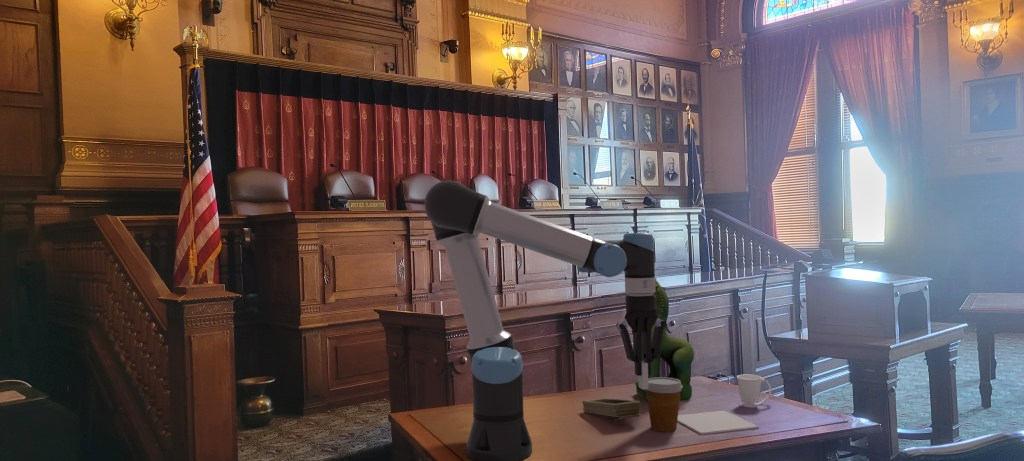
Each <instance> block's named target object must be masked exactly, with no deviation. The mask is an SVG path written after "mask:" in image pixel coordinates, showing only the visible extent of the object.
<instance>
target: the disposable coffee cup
mask: <svg viewBox="0 0 1024 461" xmlns="http://www.w3.org/2000/svg"><path fill="white" fill-rule="evenodd" d="M648 388H649V389H646V392H647V400H648V401H647V400H646V401H647V405H648V406H647V407H648V413H649V422H650V428H651V429H652V430H654V431H657V432H674V431H676V430H677V425H678V422H677V419H678V415H679V409H680V393H681V390H682V388H683V386H682V385H681V381H680V380H678V379H674V378H666V376H665V377H662V376H660V377H655V378H649V379H648Z"/></svg>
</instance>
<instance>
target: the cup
mask: <svg viewBox="0 0 1024 461" xmlns="http://www.w3.org/2000/svg"><path fill="white" fill-rule="evenodd" d="M736 380H737V385H738V390H739V391H738V392H739V393H738V394H739V396H740V399H741V402H742V403H741V406H742V407H746V408H757V407H758V406H760V405H762V404H763V403H765V402H766V401H767V400H768V399H769V398H770V397H771V395H772V391H773V390H772V387H771V386H772V385H771V382H769V381H768V379H765V378H762V376H761V375H757V374H747V373H746V374H744V373H743V374H739V375H736ZM763 382H766V383H767V384H768V385H767V386H768V389H769V391H768V394H767V395H766V396H765V397H764V398H763V399H762V400H761V401H759V399H760V393H761V387H762V383H763Z"/></svg>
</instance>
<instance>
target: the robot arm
mask: <svg viewBox="0 0 1024 461" xmlns="http://www.w3.org/2000/svg"><path fill="white" fill-rule="evenodd" d="M424 210H425V211H424V212H425V214H426V217H427V218H428V220H429V221H430V222H431V226H432V230H433V233H434V236H435V239H436V242H437V243H438V244H440V245H442V246H443V247H444V249H445V253H446V257H447V260H448V264H449V267H450V270H451V271H450V272H451V274H452V278H453V281H454V286H455V289H456V292H457V296H458V300H459V304H460V306H461V310H462V314H463V317H464V320H465V325H466V328H467V331H468V335H469V341H468V343H467V345H466V351H467V355H468V358H469V362H470V370H471V380H472V381H471V382H472V384H471V385H472V414H473V416H472V417H473V419H472V420H473V421H472V423H471V428H470V431H469V435H468V438H467V441H466V456H467V457H468V458H469V459H471V460H473V461H521V460H524V459H527V458H528V457H530V456H531V455H532V453H533V441H532V439H531V435H530V432H529V430H528V427H527V424H526V422H525V417H524V385H523V384H524V383H523V382H524V380H523V371H524V370H523V369H524V362H523V359H522V357H523V356H522V355H521V353H520V352H519V351H518V350H516V347H515V343H514V340H513V338H512V334H511V333H510V332H508V331H506V330H505V329H504V327H503V323H502V319H501V315H500V312H499V310H498V306H497V302H496V298H495V295H494V294H495V293H494V290H493V288H492V287H493V286H492V284H491V281H490V280H491V279H490V276H489V274H488V273H489V272H488V270H487V266H486V262H485V259H484V255H483V252H482V247H481V244H480V241H479V235H480V234H482V235H485V236H489V237H492V238H494V239H497V240H500V241H504V242H505V243H510V244H512V245H515V246H518V247H521V248H524V249H526V250H530V251H533V252H536V253H539V254H541V255H544V256H546V257H550V258H553V259H555V260H558V261H563V262H565V263H568V264H571V265H574V266H576V269H577V271H578V272H579V273H588V274H591V273H596V274H599V275H600V276H603V277H606V278H612V277H616V276H619V275H620V274H621V273H623V272H624V293H625V294H627V295H626V296H625V298H624V299H625V315H624V319H623V320H622V321H621V322H617V323H616V324H615V326H616V327H617V329H618V331H619V332H620V338H621V340H622V344H623V346H624V351H625V355H626V359H627V360H629V361H631V362H634V373H635V376H637V377H638V378H637V379H638V380H637V381H638V383H639V388H641V389H643V390H644V389H649V388H648V375H651V363H652V362H653V360H654V359H657V358H658V355H659V349H660V344H661V339H662V333H663V329H664V328H665V326H666V327H667V322H666V321H663V320H661V319H659V318H658V315H657V313H656V296H655V295H653V293H655V292H656V291H655V280H656V274H655V273H656V271H655V269H656V267H655V252H656V250H655V244H654V237H653V236H654V235H653V234H652V233H650V232H630V233H629V232H627V233H624V234H623V236H622V238H623V239H622V240H620V241H605V240H601V239H599V238H596V237H592V236H590V235H588V234H584V233H582V232H579V231H576V230H573V229H570V228H568V227H564V226H562V225H558V224H556V223H553V222H550V221H547V220H544V219H541V218H539V217H536V216H533V215H529V214H526V213H524V212H522V211H519V210H515V209H513V208H509V207H507V206H505V205H502V204H498V203H497V202H496V203H495V202H492V201H491V200H490V198H489V196H488V195H485V194H482V193H480V192H477V191H475V190H474V189H471V188H469V187H467V186H466V185H464V184H463V183H461V182H459V181H456V180H453V179H452V180H448V179H447V180H443V181H440V182H437V183H435V184H434V185H433V186H431V187H430V188H429V190H428V192H427V193H426V195H425V198H424ZM654 324H655V329H654V334H653V339H652V344H651V334H652V331H651V329H652V327H653V325H654ZM629 328H630V329H631V333H632V340H631V337H630V333H629V330H628V329H629ZM641 336H642V340H641ZM642 341H643V360H644V361H642Z"/></svg>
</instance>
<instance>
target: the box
mask: <svg viewBox="0 0 1024 461" xmlns="http://www.w3.org/2000/svg"><path fill="white" fill-rule="evenodd" d="M581 403H582V406H583V413H586V414H592V415H593V414H595V415H602V416H607V417H608V416H609V417H613V418H612V421H617V420H622V419H623V420H624V419H627V418H628V419H630V418H636V417H639V415H640V414H641V410H640V409H641V401H640V400H631V399H630V400H629V399H619V398H598V399H588V400H582V401H581Z"/></svg>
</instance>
